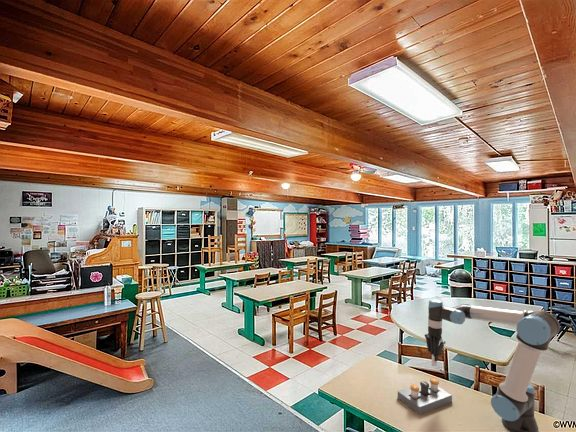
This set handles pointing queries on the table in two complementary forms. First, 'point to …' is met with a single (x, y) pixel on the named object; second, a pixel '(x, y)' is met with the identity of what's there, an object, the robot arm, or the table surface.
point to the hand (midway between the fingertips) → (434, 365)
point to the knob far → (434, 385)
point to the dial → (424, 388)
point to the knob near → (414, 391)
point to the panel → (425, 399)
